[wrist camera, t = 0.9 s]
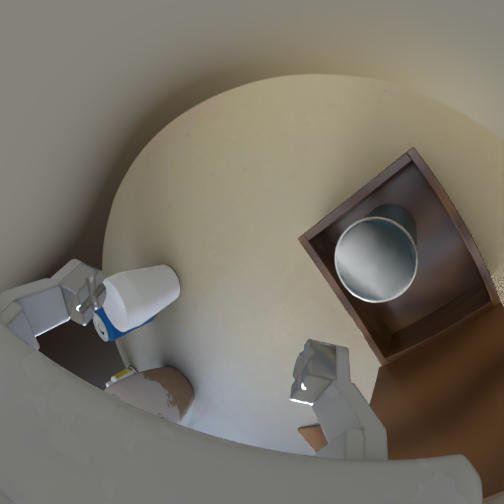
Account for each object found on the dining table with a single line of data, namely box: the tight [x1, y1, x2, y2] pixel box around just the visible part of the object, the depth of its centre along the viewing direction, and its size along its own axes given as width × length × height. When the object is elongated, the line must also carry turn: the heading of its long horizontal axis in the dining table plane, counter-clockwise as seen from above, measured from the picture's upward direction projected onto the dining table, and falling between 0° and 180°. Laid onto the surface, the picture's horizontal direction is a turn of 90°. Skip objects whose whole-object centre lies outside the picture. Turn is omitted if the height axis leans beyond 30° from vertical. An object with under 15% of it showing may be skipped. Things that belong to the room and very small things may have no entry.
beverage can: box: [93, 308, 154, 341], centre depth 50 cm, size 6×6×12 cm
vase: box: [104, 367, 194, 424], centre depth 48 cm, size 16×16×23 cm
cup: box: [102, 265, 180, 332], centre depth 43 cm, size 9×9×12 cm
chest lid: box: [369, 303, 504, 503], centre depth 13 cm, size 16×14×1 cm
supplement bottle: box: [106, 367, 137, 387], centre depth 66 cm, size 5×5×10 cm
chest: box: [298, 147, 501, 366], centre depth 23 cm, size 16×14×6 cm
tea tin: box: [334, 203, 419, 303], centre depth 21 cm, size 6×6×11 cm
